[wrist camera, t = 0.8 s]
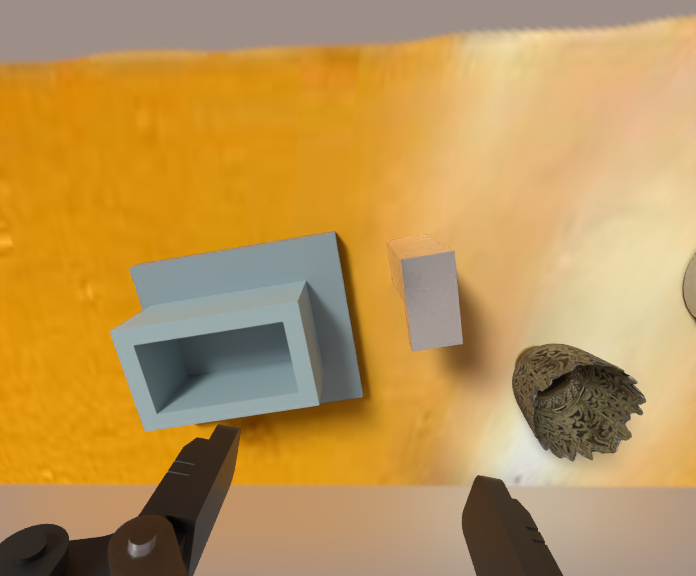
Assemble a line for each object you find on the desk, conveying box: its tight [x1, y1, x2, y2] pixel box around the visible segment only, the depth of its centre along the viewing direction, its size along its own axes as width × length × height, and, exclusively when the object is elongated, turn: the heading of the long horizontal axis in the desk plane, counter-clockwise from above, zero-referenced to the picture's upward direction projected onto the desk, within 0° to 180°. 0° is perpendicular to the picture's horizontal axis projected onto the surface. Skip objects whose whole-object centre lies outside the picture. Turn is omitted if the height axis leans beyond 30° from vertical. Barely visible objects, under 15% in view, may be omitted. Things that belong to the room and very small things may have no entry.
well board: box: [110, 231, 363, 432], centre depth 29 cm, size 16×14×7 cm
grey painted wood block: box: [387, 234, 463, 351], centre depth 27 cm, size 3×6×8 cm, turn 9°
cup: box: [512, 344, 646, 461], centre depth 29 cm, size 8×7×8 cm
